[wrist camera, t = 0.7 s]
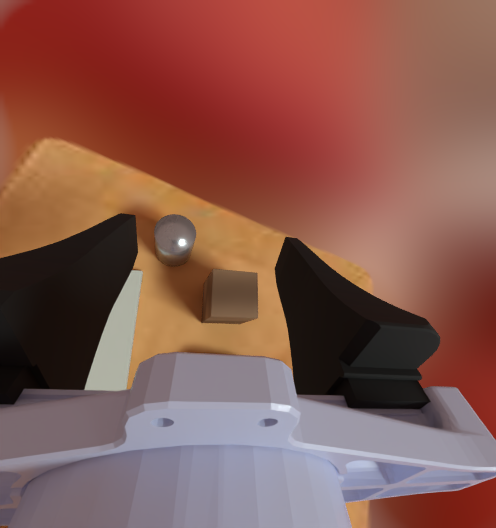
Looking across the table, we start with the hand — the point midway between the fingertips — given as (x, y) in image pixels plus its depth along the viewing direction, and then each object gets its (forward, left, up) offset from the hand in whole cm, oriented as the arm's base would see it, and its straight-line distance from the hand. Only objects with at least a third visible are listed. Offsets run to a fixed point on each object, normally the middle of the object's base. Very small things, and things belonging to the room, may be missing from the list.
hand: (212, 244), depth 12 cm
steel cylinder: (+6, +2, -17) cm, 18 cm away
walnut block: (0, -4, -17) cm, 18 cm away
